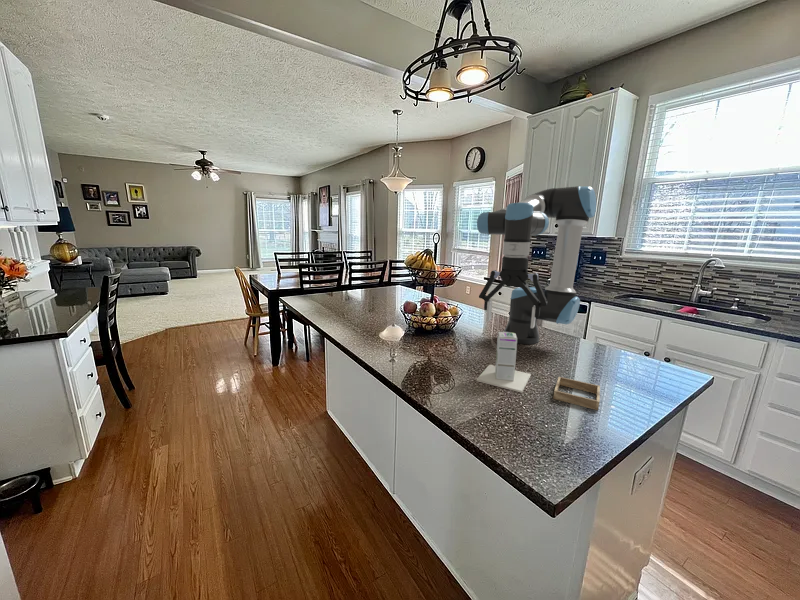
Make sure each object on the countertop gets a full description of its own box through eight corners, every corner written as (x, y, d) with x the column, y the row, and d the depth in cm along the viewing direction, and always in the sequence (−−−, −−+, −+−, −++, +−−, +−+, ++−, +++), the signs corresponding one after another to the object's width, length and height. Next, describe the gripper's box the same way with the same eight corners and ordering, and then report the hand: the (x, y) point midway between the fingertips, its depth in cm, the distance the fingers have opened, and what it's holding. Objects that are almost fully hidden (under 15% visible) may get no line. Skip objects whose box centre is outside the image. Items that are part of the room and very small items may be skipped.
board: (489, 366, 116) (489, 364, 116) (530, 375, 109) (530, 374, 109) (476, 381, 104) (476, 379, 104) (521, 392, 97) (522, 391, 97)
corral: (557, 383, 104) (558, 376, 103) (598, 393, 98) (599, 385, 97) (553, 398, 94) (554, 390, 94) (598, 410, 88) (599, 401, 88)
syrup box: (514, 381, 103) (518, 337, 100) (495, 379, 105) (498, 336, 101) (512, 373, 109) (516, 332, 106) (494, 371, 110) (497, 330, 107)
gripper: (471, 255, 101) (467, 320, 106) (559, 259, 89) (551, 333, 94) (479, 253, 108) (475, 315, 112) (562, 257, 95) (554, 326, 100)
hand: (509, 323), depth 103 cm, fingers open, 13 cm apart
